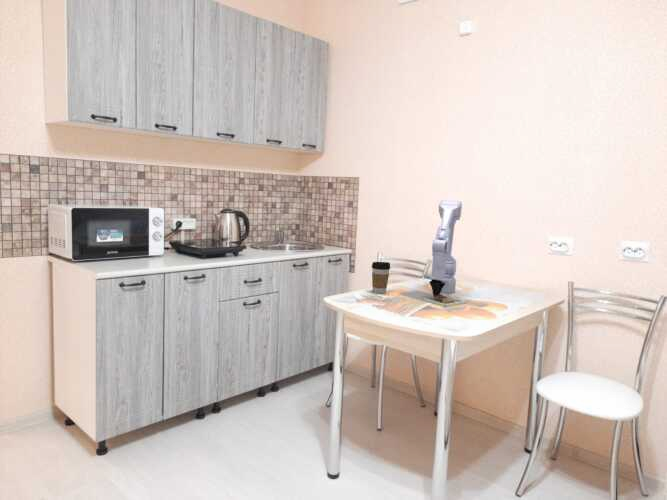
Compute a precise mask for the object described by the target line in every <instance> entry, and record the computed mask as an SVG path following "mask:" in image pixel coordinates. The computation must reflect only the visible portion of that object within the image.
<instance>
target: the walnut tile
mask: <svg viewBox="0 0 667 500" xmlns="http://www.w3.org/2000/svg"><path fill="white" fill-rule="evenodd" d="M443 295H444V294H440V295H435V298H434V299H433V301H436V302H439V303H442V300H443V299H444V298H447V297H445V296H446V295H445V296H443Z"/></svg>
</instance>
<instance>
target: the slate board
mask: <svg viewBox="0 0 667 500" xmlns="http://www.w3.org/2000/svg"><path fill="white" fill-rule="evenodd" d="M397 294H398V295H401V296H405V297H408V298H411V299H415V300H417V301H418V300H419V301H421V302H424V301H423V298H425V299H428V300H432V301H433V300H434V296H433V293H429V292H425V291H421V290H414V291H406V292H400V293H397Z"/></svg>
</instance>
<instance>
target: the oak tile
mask: <svg viewBox="0 0 667 500" xmlns="http://www.w3.org/2000/svg"><path fill="white" fill-rule="evenodd" d="M455 302H457V301H456V300H455V299H451V298H444V299H443V300H442V303H443V304H449V303H455Z"/></svg>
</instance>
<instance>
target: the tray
mask: <svg viewBox="0 0 667 500" xmlns="http://www.w3.org/2000/svg"><path fill="white" fill-rule="evenodd" d="M442 295H443V296H445V297H447V298H451V299H455V300H456V302H455V303H449V304H445V303H440V302H437V301H434V300H433V299H432V300H428V299H425V298H423V301H422V302H426V303H429V304H432V305H436V306H439V307H443V308H448V307H454V306H458V305H459V306H460V305H465V304H467V301H466V300H464V299H460V298H455V297H451V296H447V295H446V294H442Z"/></svg>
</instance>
